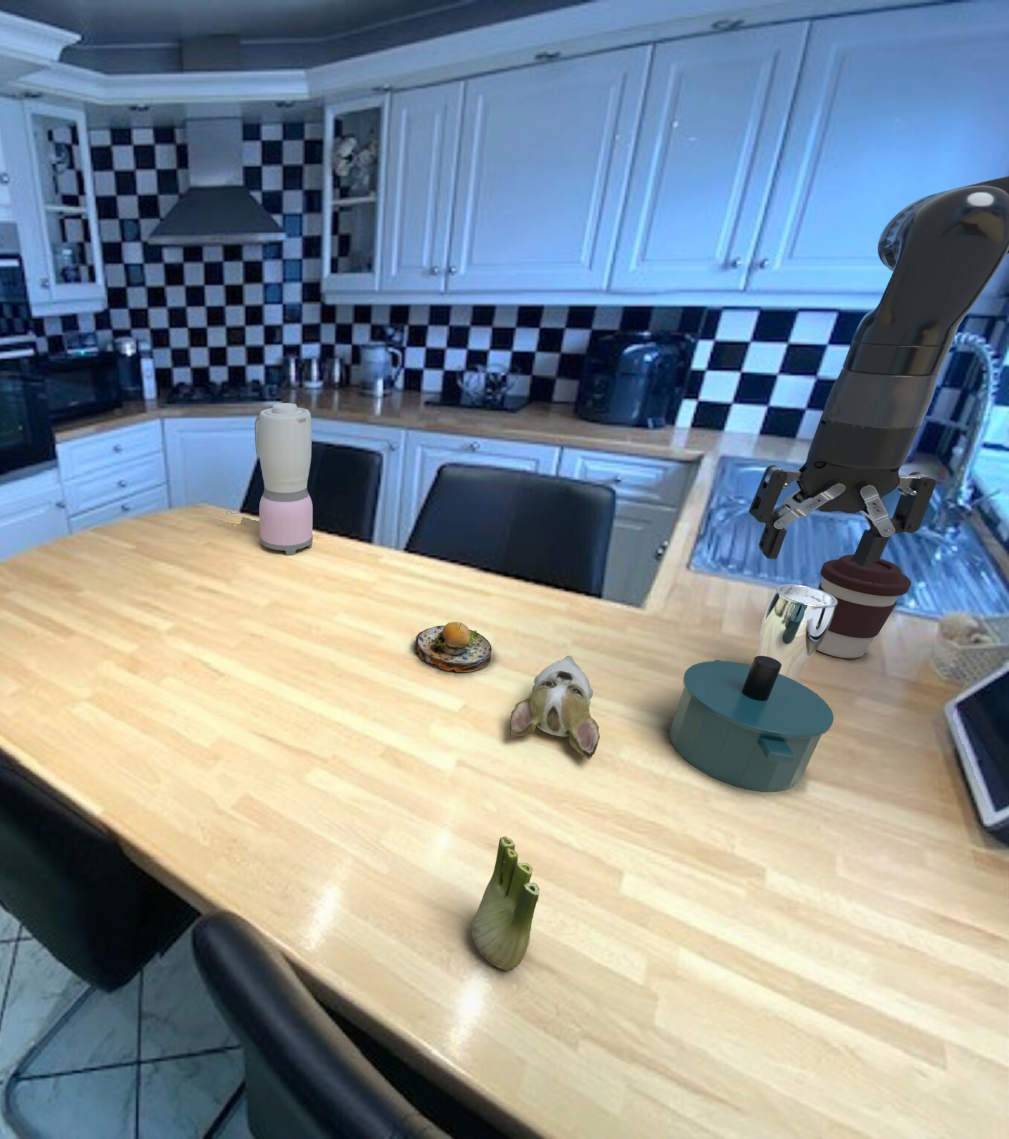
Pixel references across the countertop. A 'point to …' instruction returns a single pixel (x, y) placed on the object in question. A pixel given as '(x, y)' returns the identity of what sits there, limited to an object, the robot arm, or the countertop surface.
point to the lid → (758, 698)
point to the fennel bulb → (506, 910)
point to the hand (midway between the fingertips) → (813, 560)
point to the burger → (453, 647)
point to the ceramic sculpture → (559, 707)
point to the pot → (738, 750)
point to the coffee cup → (859, 603)
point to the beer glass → (795, 626)
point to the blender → (285, 477)
